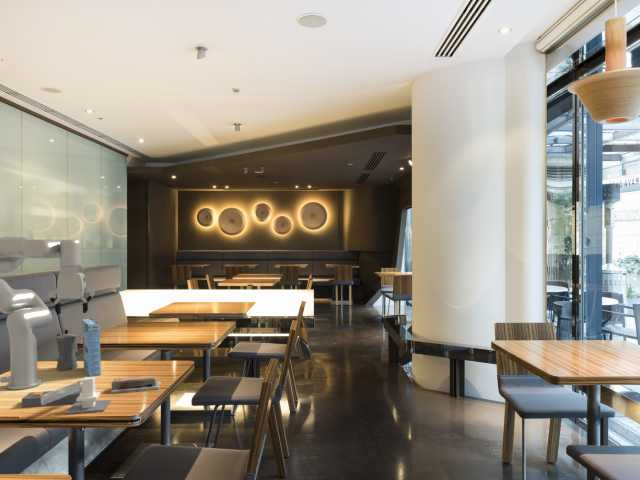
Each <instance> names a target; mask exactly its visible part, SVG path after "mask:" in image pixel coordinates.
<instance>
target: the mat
mask: <svg viewBox="0 0 640 480" xmlns="http://www.w3.org/2000/svg"><path fill="white" fill-rule="evenodd" d="M111 402H112V401H111V399H105V400H104V399H103V400H96V404H95V406H94V407H91V408H82V402H78V403H72V405H71V407H70V408H68V409H67V410H66V412H65V415H76V413H78V414H87V413H88V412H90V413H101V412H104V411H105V410H106V409H107V408H108V406H109V405H110V403H111Z"/></svg>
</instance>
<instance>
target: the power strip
mask: <svg viewBox="0 0 640 480" xmlns="http://www.w3.org/2000/svg"><path fill="white" fill-rule="evenodd" d="M52 391H53V390H47V391H34V392H28V393H27V394H26V395H25V396H24V397H22V398H21V408H31V407H42V406H45V405H46V406H55V405H57V406H58V405H68V404H74V403H78V402H77V400H76V399H77V398H78V397H79V395H80V394H81V393H82V390H81V391H78V392H75V393H73V394H70V395H68V396H65V397H63V398H60V399H58V400H55V401H53V402H50V403H47V404H45V405H41V395H44V394H47V393H49V392H52ZM80 402H82V401H80ZM46 406H45V407H46Z"/></svg>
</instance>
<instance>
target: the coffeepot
mask: <svg viewBox="0 0 640 480" xmlns="http://www.w3.org/2000/svg"><path fill="white" fill-rule="evenodd" d="M55 340H56V347H57V351H58V356H57V363H56V370H57V371H62V372H63V371H70V370H75V369H77V368H78V363H77V357H76V352H75V351H76V348H77V347H76V346H77V340H78V335H77V334H73V333H69V329H64V333H57V334H56V336H55Z"/></svg>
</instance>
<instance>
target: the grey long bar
mask: <svg viewBox="0 0 640 480" xmlns="http://www.w3.org/2000/svg"><path fill="white" fill-rule="evenodd" d="M81 390H82V380H80V381H79V380H78V381H76V382H74V383H72V384H71V383H70V384H68V385H66V386H63V387H61V388H58V389H55V390H51V391H52V392H49V393H47V394H44V395H41V405H45V404H47V403H50V402H53V401H55V400H58V399H60V398H63V397H65V396H68V395H70V394H73V393H75V392H78V391H81Z"/></svg>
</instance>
